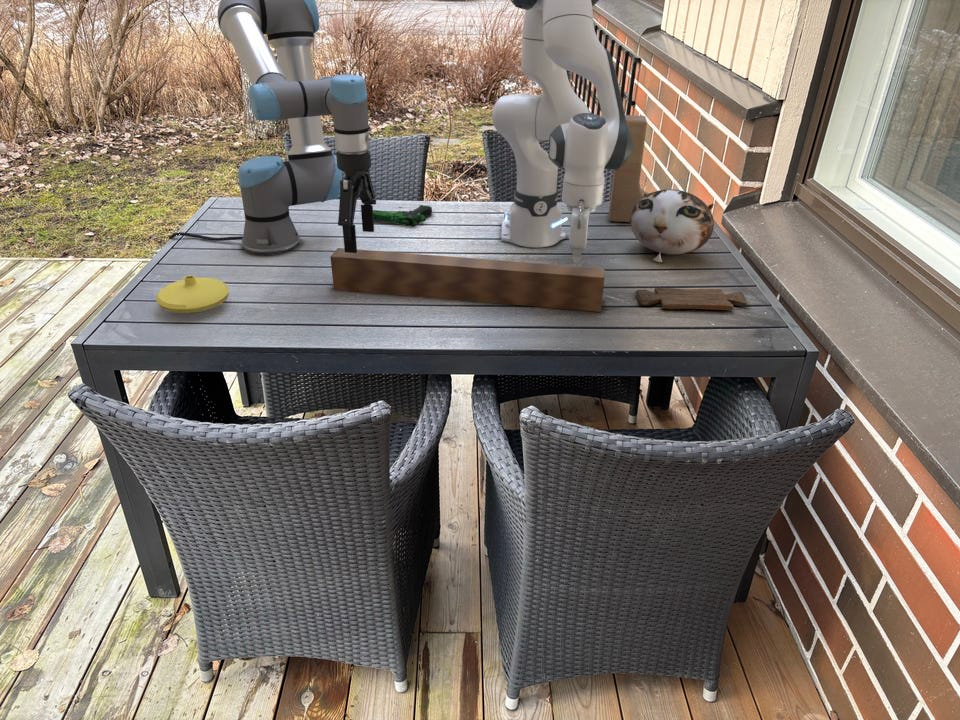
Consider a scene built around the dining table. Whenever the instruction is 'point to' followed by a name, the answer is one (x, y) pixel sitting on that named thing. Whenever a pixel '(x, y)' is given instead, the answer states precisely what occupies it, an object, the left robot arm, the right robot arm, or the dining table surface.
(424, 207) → the handgun
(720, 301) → the dark wooden board
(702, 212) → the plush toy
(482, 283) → the post
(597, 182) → the right robot arm
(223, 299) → the yellow round disc
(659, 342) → the dining table surface
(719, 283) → the dining table surface
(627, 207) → the decorative block
